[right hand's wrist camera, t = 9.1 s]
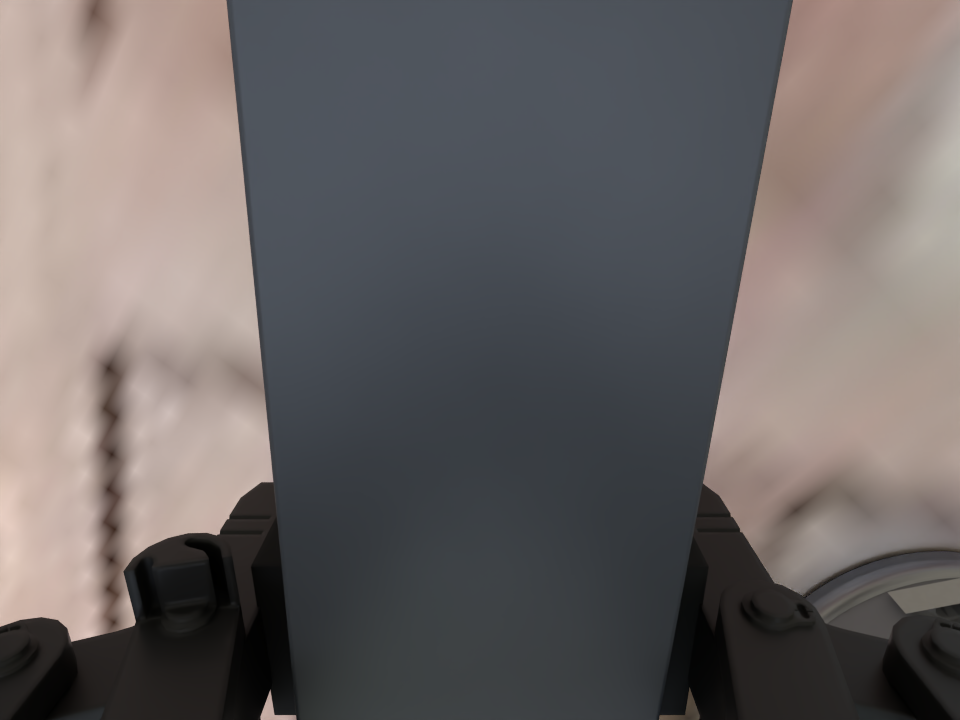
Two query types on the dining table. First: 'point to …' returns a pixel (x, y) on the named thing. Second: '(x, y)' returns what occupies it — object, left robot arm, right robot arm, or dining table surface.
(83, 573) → the dining table surface
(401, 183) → the bar
